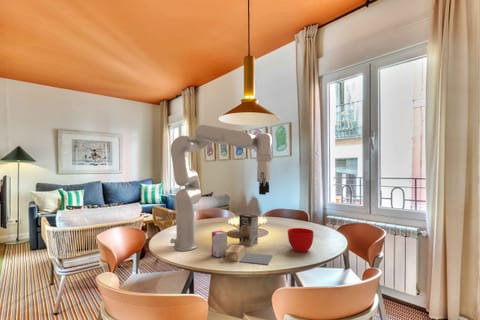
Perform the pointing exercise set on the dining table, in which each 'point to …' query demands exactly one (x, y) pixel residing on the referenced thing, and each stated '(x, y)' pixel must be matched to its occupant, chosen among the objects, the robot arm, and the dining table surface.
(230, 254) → the ledge
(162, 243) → the dining table surface
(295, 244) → the ceramic cup
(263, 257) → the mat
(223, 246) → the supplement box
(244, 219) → the coffee box
